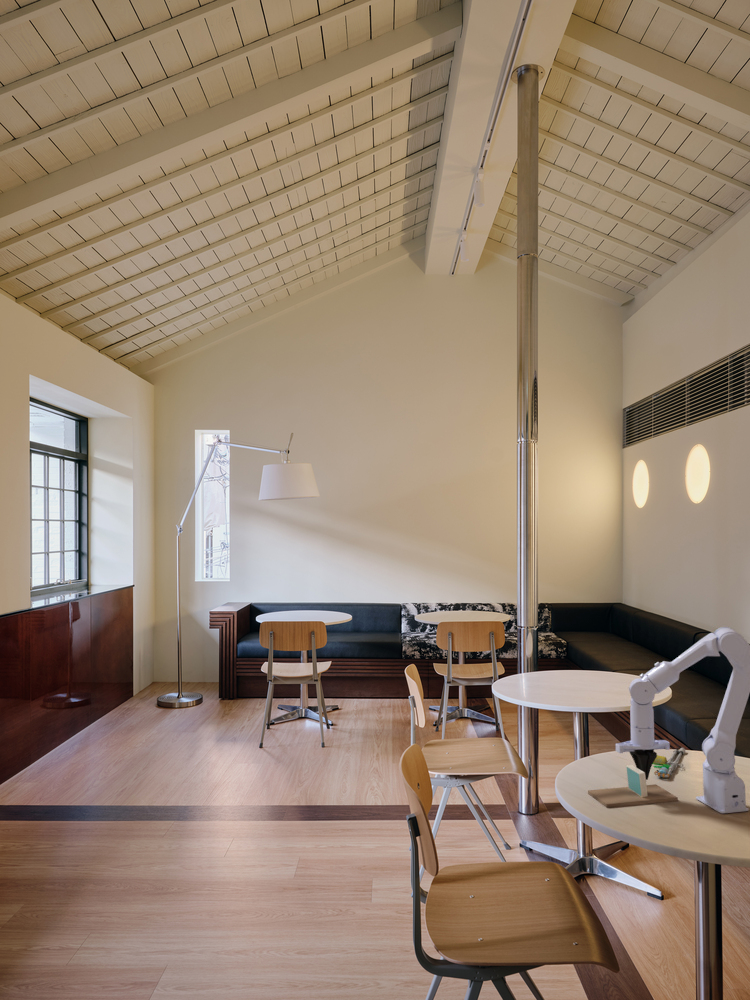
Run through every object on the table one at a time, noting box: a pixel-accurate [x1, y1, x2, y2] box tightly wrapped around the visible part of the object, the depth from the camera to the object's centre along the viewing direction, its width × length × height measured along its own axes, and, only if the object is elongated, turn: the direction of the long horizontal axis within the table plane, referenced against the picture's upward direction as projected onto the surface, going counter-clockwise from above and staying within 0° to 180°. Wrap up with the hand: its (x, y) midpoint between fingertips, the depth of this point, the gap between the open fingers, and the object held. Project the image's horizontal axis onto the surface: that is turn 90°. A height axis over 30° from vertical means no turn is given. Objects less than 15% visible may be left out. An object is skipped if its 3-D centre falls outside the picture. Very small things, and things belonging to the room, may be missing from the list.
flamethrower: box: [652, 747, 686, 778], centre depth 195 cm, size 29×3×10 cm
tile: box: [625, 764, 648, 797], centre depth 171 cm, size 6×2×6 cm, turn 11°
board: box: [587, 784, 679, 808], centre depth 170 cm, size 9×20×1 cm, turn 101°
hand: (643, 778), depth 172 cm, fingers closed
